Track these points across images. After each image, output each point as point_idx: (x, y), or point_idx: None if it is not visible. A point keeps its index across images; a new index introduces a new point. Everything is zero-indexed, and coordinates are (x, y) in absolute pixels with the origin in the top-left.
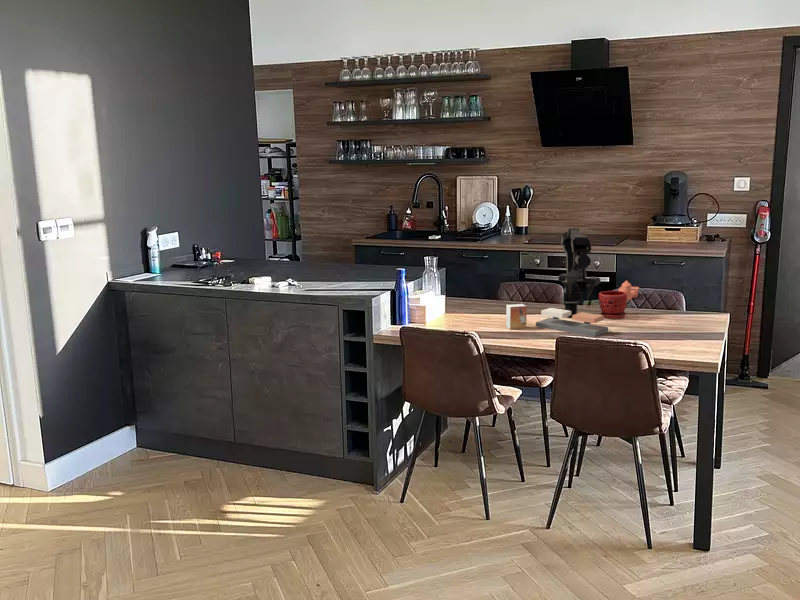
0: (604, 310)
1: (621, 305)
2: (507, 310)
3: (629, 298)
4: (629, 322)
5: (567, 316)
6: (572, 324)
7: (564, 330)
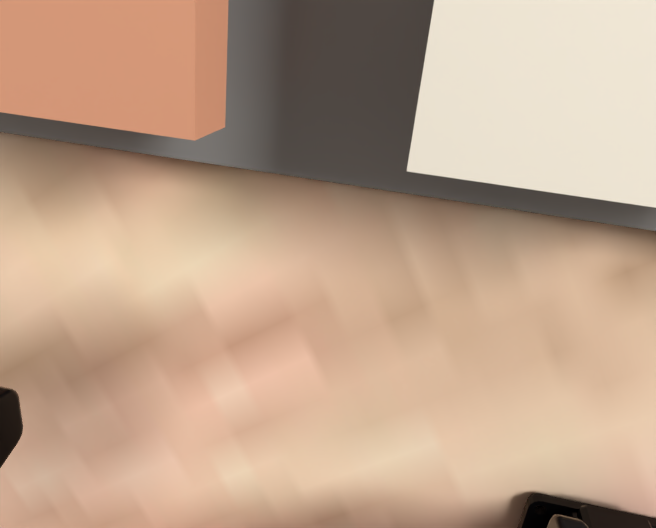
0: None
1: None
2: None
3: None
4: (45, 511)
5: (608, 510)
6: (345, 2)
7: None
